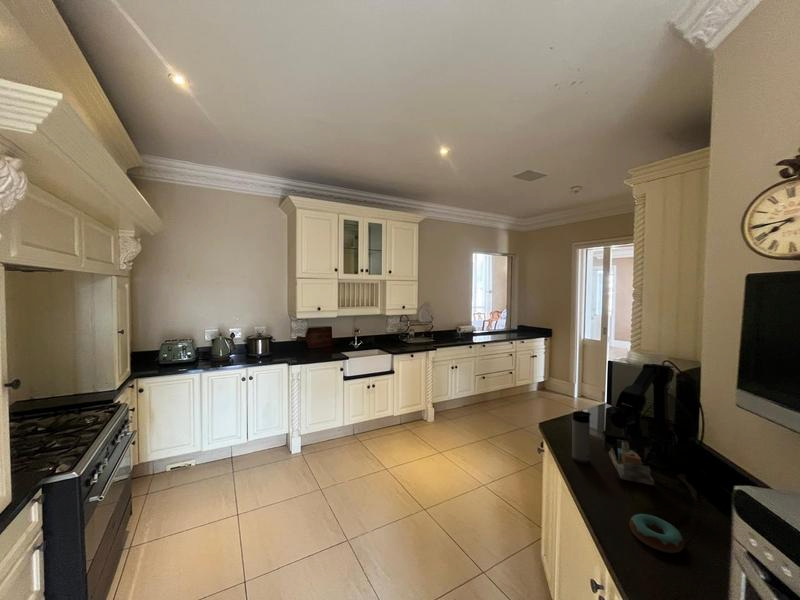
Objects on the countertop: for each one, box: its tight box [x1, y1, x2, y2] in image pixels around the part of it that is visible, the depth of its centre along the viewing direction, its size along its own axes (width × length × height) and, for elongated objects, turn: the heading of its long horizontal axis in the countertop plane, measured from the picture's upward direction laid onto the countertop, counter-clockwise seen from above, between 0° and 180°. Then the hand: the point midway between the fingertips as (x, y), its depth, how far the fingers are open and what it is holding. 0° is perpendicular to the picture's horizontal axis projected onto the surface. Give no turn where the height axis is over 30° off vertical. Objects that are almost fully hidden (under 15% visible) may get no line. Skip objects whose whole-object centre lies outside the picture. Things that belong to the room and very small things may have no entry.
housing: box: [622, 451, 642, 465], centre depth 122 cm, size 5×5×5 cm
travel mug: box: [571, 410, 592, 464], centre depth 130 cm, size 6×7×20 cm
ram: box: [618, 441, 636, 461], centre depth 128 cm, size 6×5×8 cm
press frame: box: [608, 447, 655, 486], centre depth 124 cm, size 10×20×6 cm, turn 157°
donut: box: [629, 513, 685, 554], centre depth 88 cm, size 12×12×4 cm
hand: (631, 462), depth 122 cm, fingers open, 9 cm apart
